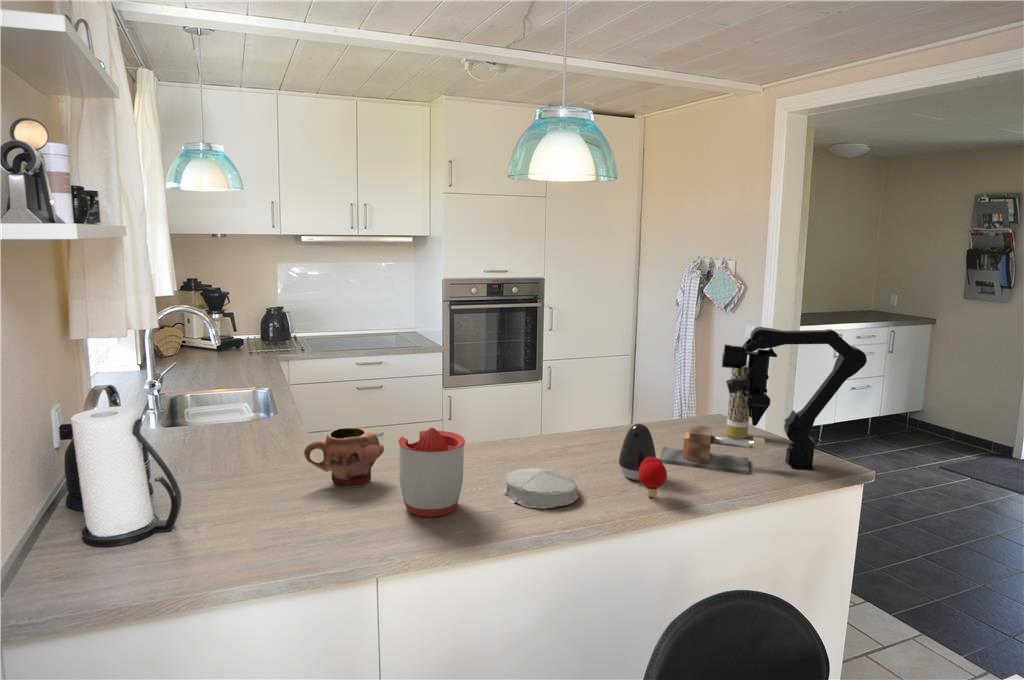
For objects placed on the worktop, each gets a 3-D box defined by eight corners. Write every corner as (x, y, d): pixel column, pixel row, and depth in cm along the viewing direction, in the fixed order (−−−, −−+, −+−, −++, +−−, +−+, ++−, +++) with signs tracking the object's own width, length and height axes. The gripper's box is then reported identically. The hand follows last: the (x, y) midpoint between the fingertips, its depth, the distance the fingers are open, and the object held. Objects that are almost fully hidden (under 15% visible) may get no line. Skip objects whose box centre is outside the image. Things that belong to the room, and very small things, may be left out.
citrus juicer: (427, 488, 172) (428, 413, 169) (477, 507, 161) (479, 427, 158) (379, 506, 160) (379, 425, 157) (430, 528, 149) (431, 442, 146)
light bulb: (668, 505, 166) (671, 466, 164) (640, 504, 166) (643, 465, 164) (661, 490, 175) (663, 454, 174) (634, 489, 175) (636, 453, 174)
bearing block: (747, 460, 201) (750, 430, 199) (748, 474, 189) (751, 442, 188) (663, 450, 208) (665, 420, 207) (659, 462, 197) (661, 431, 195)
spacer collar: (688, 453, 203) (690, 432, 202) (687, 459, 197) (689, 438, 196) (684, 452, 203) (685, 432, 202) (682, 458, 198) (684, 438, 197)
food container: (491, 485, 177) (491, 461, 176) (560, 476, 184) (560, 453, 183) (518, 517, 158) (519, 490, 157) (593, 506, 165) (594, 480, 164)
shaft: (762, 450, 195) (764, 438, 194) (763, 453, 191) (764, 441, 191) (699, 442, 200) (700, 430, 200) (698, 445, 197) (699, 434, 196)
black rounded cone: (612, 479, 182) (615, 425, 180) (624, 467, 191) (627, 416, 189) (648, 486, 178) (652, 431, 175) (659, 474, 187) (663, 422, 184)
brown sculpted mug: (309, 497, 164) (308, 443, 162) (301, 480, 175) (300, 428, 173) (389, 486, 172) (389, 434, 170) (377, 470, 183) (377, 421, 181)
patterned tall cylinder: (744, 433, 228) (751, 362, 224) (749, 440, 221) (756, 366, 217) (724, 432, 229) (730, 361, 225) (728, 438, 222) (734, 365, 218)
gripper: (727, 362, 208) (722, 410, 210) (731, 374, 190) (726, 427, 192) (765, 365, 205) (760, 414, 208) (773, 377, 187) (767, 431, 190)
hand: (752, 421), depth 199 cm, fingers open, 9 cm apart
